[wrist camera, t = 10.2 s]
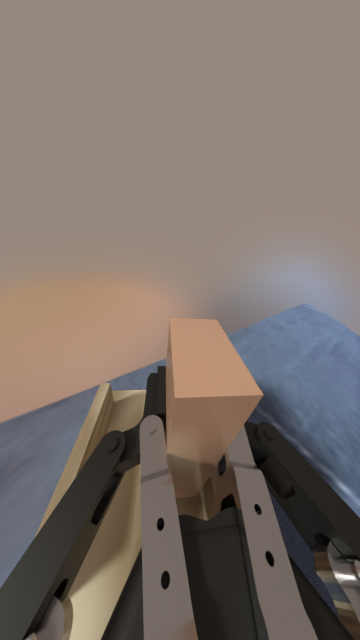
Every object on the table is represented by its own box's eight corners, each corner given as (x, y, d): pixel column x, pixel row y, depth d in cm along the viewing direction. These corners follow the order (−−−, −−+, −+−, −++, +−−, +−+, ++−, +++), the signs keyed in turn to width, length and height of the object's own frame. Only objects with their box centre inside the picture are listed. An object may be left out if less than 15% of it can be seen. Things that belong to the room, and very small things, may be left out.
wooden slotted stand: (197, 394, 23) (204, 368, 20) (247, 634, 9) (296, 670, 6) (105, 397, 21) (97, 369, 18) (-7, 703, 7) (-121, 808, 4)
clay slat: (187, 426, 16) (216, 319, 9) (196, 495, 12) (263, 395, 5) (161, 427, 16) (169, 317, 9) (160, 500, 11) (174, 397, 4)
